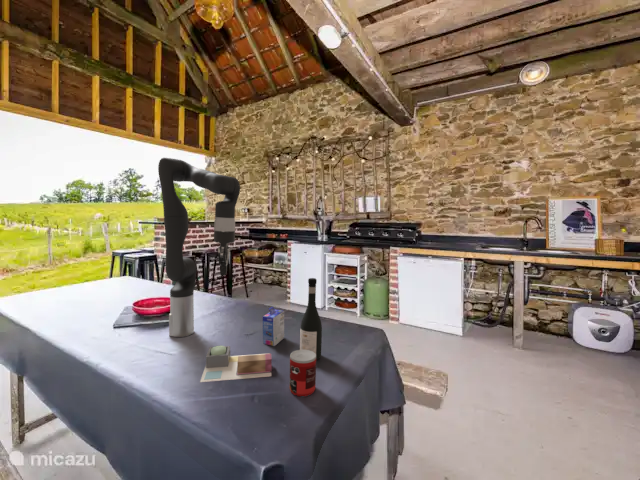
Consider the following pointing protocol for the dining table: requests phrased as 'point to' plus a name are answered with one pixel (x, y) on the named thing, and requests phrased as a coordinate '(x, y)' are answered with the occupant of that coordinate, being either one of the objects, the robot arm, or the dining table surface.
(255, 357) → the wooden block
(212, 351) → the button
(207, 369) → the colouring board
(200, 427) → the dining table surface
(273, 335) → the ink cartridge box
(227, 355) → the button housing
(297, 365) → the canned food
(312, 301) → the wine bottle
